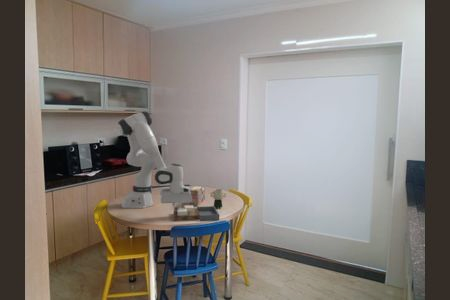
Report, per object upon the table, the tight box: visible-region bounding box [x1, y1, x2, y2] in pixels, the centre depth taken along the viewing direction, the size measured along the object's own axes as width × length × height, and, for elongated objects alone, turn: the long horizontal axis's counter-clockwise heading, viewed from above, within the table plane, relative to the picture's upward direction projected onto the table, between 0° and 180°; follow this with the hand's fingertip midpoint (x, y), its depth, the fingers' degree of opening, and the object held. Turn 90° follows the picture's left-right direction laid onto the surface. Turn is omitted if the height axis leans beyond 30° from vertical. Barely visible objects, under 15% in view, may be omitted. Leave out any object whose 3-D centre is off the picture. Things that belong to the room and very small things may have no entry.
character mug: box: [210, 188, 227, 209], centre depth 223 cm, size 11×7×13 cm, turn 92°
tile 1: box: [183, 204, 195, 212], centre depth 206 cm, size 6×6×2 cm
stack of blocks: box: [189, 185, 206, 208], centre depth 236 cm, size 21×6×12 cm, turn 170°
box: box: [196, 205, 220, 222], centre depth 205 cm, size 12×19×3 cm, turn 12°
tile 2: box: [177, 208, 187, 216], centre depth 198 cm, size 6×6×2 cm
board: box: [173, 207, 200, 222], centre depth 202 cm, size 16×15×3 cm
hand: (176, 209), depth 204 cm, fingers closed
